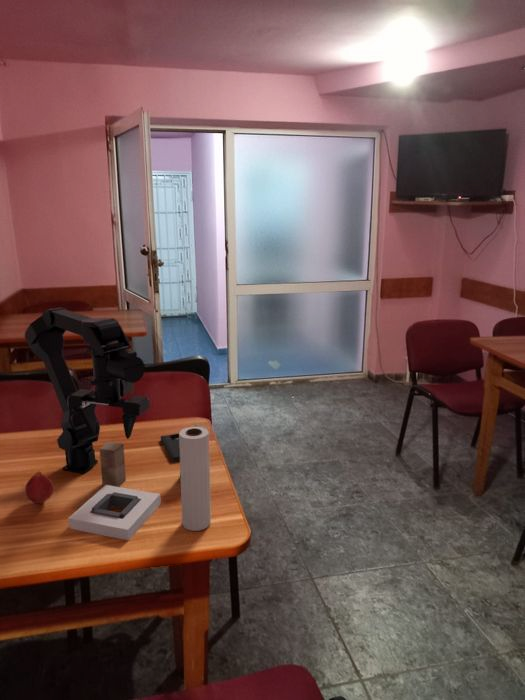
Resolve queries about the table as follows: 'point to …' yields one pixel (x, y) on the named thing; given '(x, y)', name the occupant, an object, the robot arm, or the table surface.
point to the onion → (39, 488)
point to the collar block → (112, 523)
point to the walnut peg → (112, 464)
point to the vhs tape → (172, 446)
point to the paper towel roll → (195, 477)
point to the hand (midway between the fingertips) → (111, 435)
